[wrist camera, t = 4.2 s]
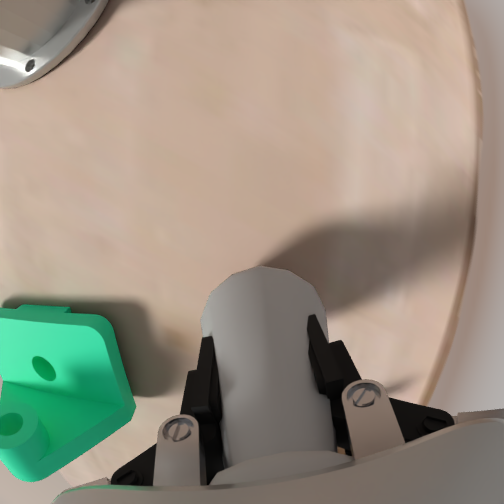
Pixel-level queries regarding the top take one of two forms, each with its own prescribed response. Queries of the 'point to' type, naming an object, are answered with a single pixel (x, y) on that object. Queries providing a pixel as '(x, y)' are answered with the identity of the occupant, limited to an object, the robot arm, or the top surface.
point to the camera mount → (57, 387)
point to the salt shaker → (268, 377)
